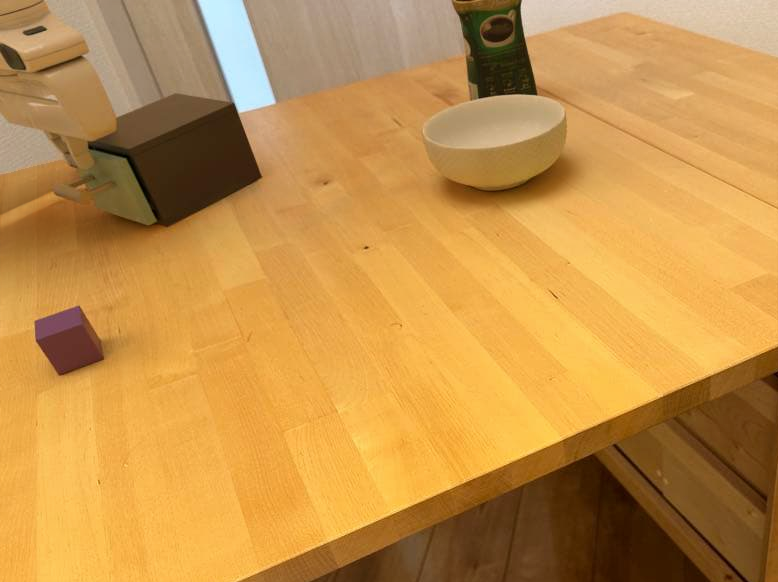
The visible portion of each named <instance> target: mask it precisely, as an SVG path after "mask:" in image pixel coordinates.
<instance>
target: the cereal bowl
mask: <svg viewBox="0 0 778 582" xmlns="http://www.w3.org/2000/svg"><path fill="white" fill-rule="evenodd" d="M567 121H568V119H567V113H566V110H565V107H564V105H562V103H560V102H559V101H557V100H555V99H553V98H549V97H547V96H541V95H537V96H536V95H503V96H494V97H487V98H481V99H477V100H472V101H471V100H468V101H464V102H461V103H458V104H454V105H452V106H449V107H447V108H444V109H443V110H440V111H439V112H437V113H435V114H433V115H432V116H431V117H429V118H428V119H427V120H426V121H425V122H424V124H423V126H422V132H421V133H422V140H423V144H424V148H425V152H426V154H427V156H428V159H429V162H431V164H432V165H433V167H434V168H435V169H436V170H437V172H439V173H440V175H442V176H444V177H445V178H446V179H449V180H451V181H453V182H455V183H457V184H462V185H466V186H472V187H473V188H475V189H478V190H481V191H491V192H492V191H502V190H504V191H505V190H509V189H513V188H516V187H519V186H521V185H523V184H525V183H527V182H529V181H530V180H531V179H532V178H534V177H536V176H538V175H539V174H541V173H543V172H544V171H546V170H547V169H549V168H550V167H552V165H553V164H554V163H555V162H556V161H557V160H558V159H559V157H560V156H561V154H562V153H563V150H564V148H565V145H566V141H567V133H568V129H567V128H568V123H567Z"/></svg>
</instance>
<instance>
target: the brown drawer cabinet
mask: <svg viewBox="0 0 778 582" xmlns="http://www.w3.org/2000/svg"><path fill="white" fill-rule="evenodd" d="M237 109H238V108H237V106H236V103H235V102H232V101H226V100H219V99H213V98H208V97H202V96H196V95H195V96H194V95H188V94H183V93H173V94H169V95H168V96H165V97H163V98H159V99H158V100H155V101H153V102H151V103H148V104H147V105H146V104H145V105H143V106H141V107H139V108H136V109H134V110H131V111H129V112H127V113H124V114H122V115H119V116H116V119H117V130H116V131H115V132H113V133H111V134H109V135H107V136H104V137H102V138H99V139H97V140H94V141H87V142H88V149H91V150H93V148H92V147H96V148H100V149H104V150H108V151H112V152H116V153H121V154H125V155H129V157H130V159H131V161H132V163H133V165H134V167H135V169H136V171H137V173H138V176H139V178H140V180H141V182H142V184H143V186H144V188H145V190H146V192H147V194H148V196H149V198H150V200H151V202H152V204H153V206H154V208H155V210H153V209H151V210H152V212H153V214H154V216H155V218H156V220H157V222H155V223H154V225H155V224H156V225H159V226H161V227H165V228H168V227H171V226H173V225H174V224H176V223H178V222H180V221H181V220H183V219H186V218H187V217H189V216H191V215H193V214H195V213H197V212H199V211H201V210H202V209H205V208H206V207H208V206H210V205H212V204H214V203H216V202H218V201H219V200H221V199H223V198H225V197H227V196H229V195H231V194H234V193H236V192H237V191H239V190H241V189H243V188H245V187H246V186H248V185H250V184H252V183H254V182H256V181H258V180H260V179H262V178H263V177H262V173H261V170H260V168H259V164H258V162H257V159H256V157H255V154H254V152H253V149H252V146H251V144H250V141H249V138H248V136H247V133H246V130H245V127H244V126H243V125H244V124H243V123H242V122H243V121H242V119H241V117H240V115H239V112H238V110H237Z"/></svg>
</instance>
